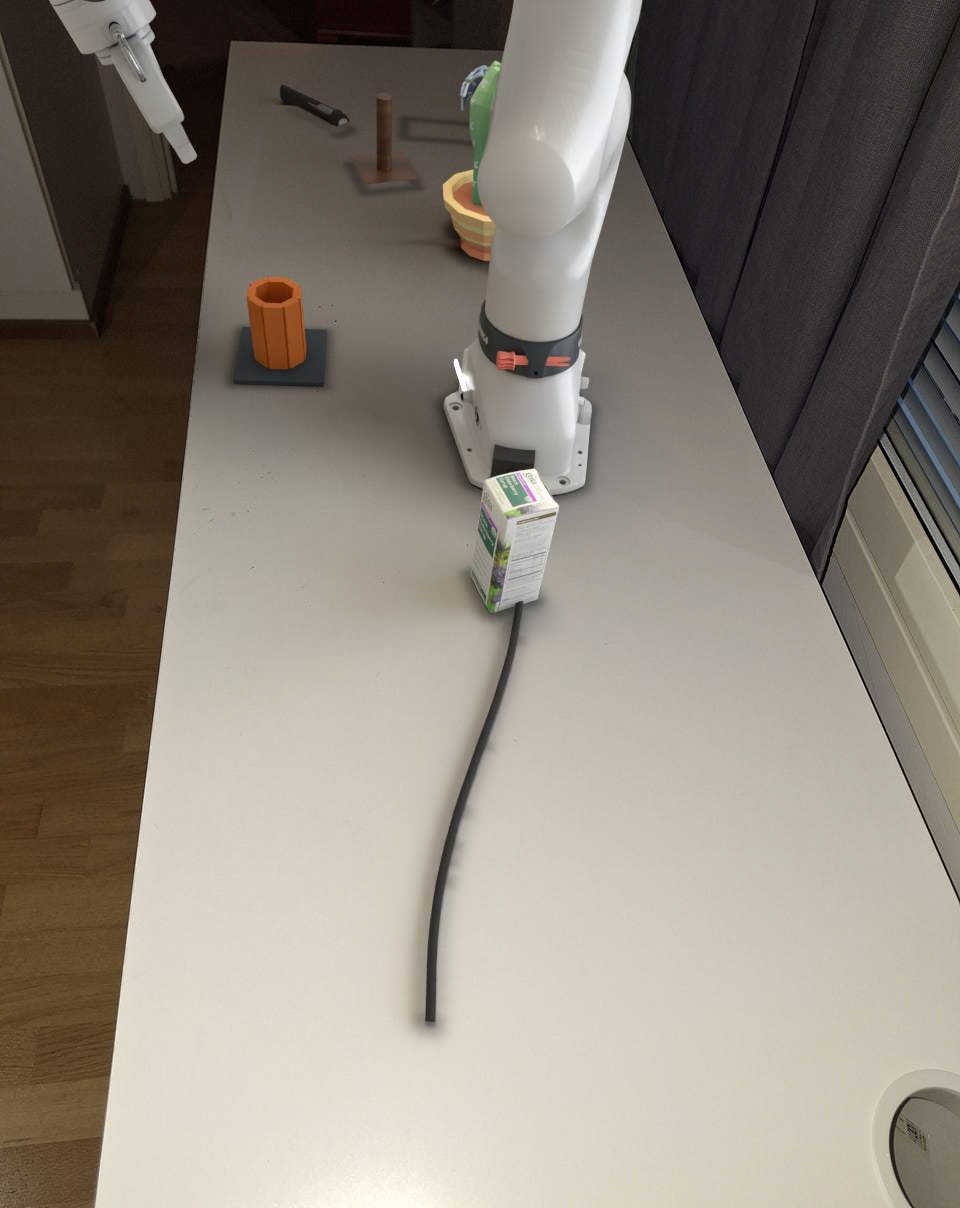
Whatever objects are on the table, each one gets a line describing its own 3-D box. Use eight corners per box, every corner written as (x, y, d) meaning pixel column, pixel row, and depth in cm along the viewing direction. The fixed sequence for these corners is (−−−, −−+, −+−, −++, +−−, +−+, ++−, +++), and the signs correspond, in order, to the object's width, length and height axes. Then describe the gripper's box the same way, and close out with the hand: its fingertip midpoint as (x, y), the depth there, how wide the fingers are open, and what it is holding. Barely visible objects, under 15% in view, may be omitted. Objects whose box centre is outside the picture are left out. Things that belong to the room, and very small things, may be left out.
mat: (323, 386, 114) (323, 382, 113) (234, 383, 113) (233, 379, 112) (326, 333, 121) (326, 329, 120) (242, 330, 119) (242, 326, 119)
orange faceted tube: (304, 370, 115) (299, 308, 107) (253, 368, 114) (244, 306, 107) (307, 339, 118) (302, 278, 111) (257, 337, 118) (249, 275, 111)
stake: (418, 187, 146) (421, 107, 136) (365, 193, 143) (364, 111, 134) (402, 160, 151) (403, 81, 141) (349, 165, 148) (347, 84, 139)
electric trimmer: (291, 99, 161) (290, 80, 159) (353, 130, 156) (352, 110, 154) (275, 105, 160) (273, 86, 157) (337, 136, 154) (336, 117, 152)
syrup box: (468, 575, 97) (480, 478, 85) (518, 561, 99) (535, 464, 87) (489, 615, 94) (504, 520, 82) (540, 600, 96) (561, 505, 84)
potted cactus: (519, 214, 144) (541, 41, 124) (554, 268, 135) (583, 91, 115) (426, 222, 140) (433, 45, 120) (456, 278, 131) (469, 97, 111)
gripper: (146, 18, 85) (224, 160, 95) (127, -13, 99) (196, 114, 109) (87, 49, 85) (171, 188, 95) (76, 14, 99) (150, 138, 109)
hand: (184, 148), depth 102 cm, fingers open, 8 cm apart
